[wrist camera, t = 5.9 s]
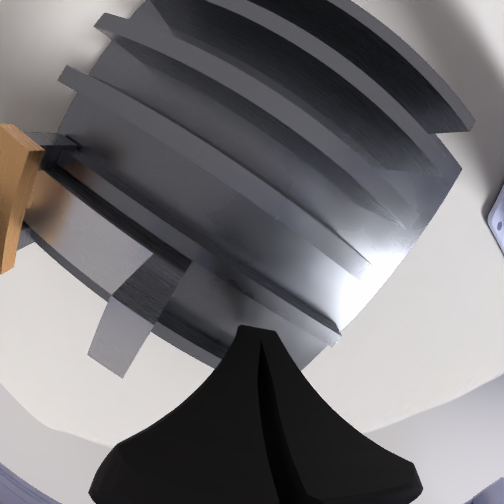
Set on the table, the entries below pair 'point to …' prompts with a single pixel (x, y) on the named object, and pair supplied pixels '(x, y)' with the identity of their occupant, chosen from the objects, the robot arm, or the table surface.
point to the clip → (107, 261)
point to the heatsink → (252, 160)
